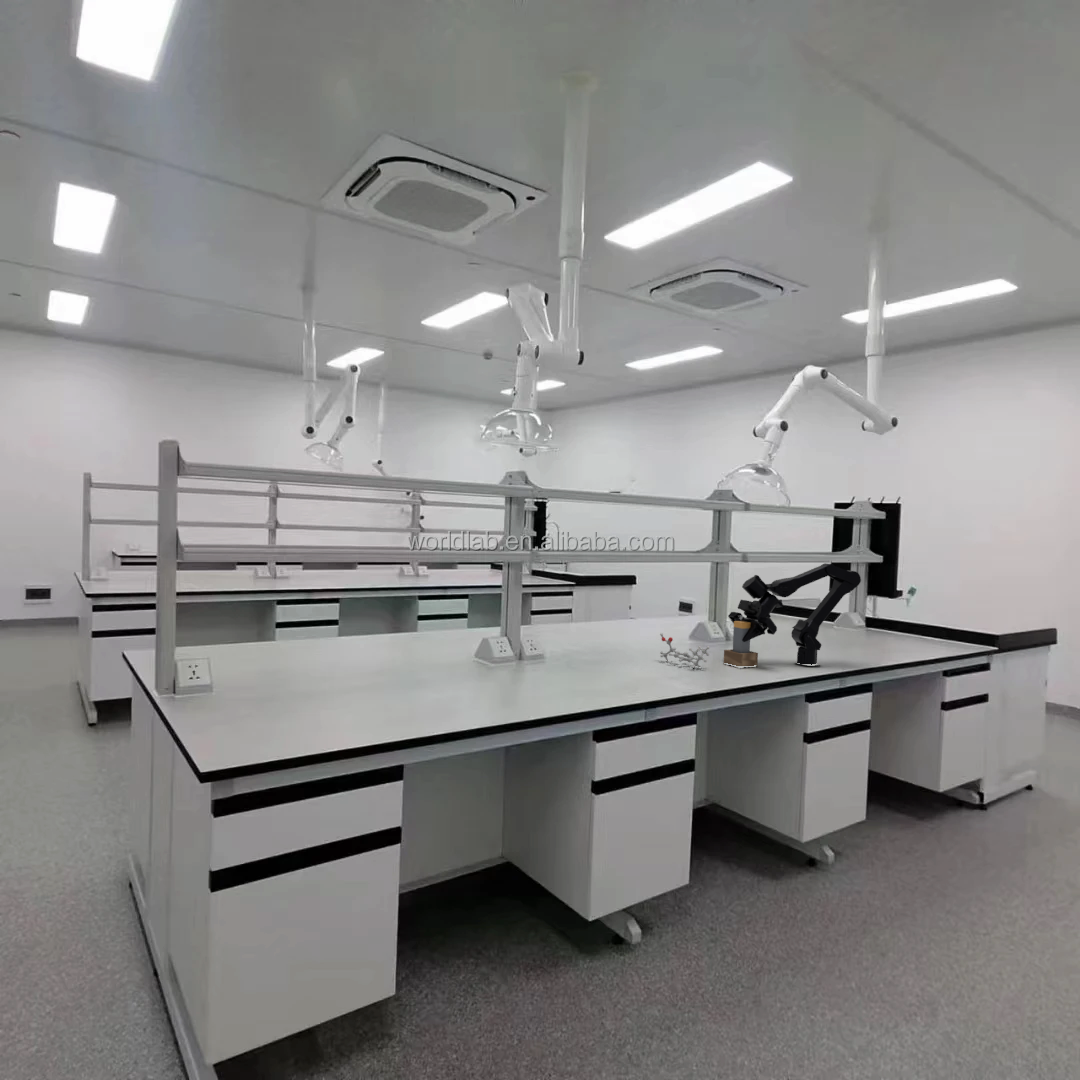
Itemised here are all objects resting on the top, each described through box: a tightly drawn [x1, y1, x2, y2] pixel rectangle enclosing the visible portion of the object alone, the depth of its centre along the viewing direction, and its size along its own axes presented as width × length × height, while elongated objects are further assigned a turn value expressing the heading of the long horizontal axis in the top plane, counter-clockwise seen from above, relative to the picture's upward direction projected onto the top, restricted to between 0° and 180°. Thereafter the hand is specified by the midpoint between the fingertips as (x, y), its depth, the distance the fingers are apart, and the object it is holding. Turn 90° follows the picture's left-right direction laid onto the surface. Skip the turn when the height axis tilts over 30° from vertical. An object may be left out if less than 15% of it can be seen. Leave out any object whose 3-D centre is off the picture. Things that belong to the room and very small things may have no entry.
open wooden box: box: [723, 648, 759, 666], centre depth 238 cm, size 8×8×5 cm
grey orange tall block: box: [732, 621, 751, 653], centre depth 238 cm, size 4×4×13 cm
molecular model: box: [659, 632, 710, 668], centre depth 234 cm, size 19×10×10 cm, turn 31°
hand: (738, 640), depth 238 cm, fingers closed on grey orange tall block, 4 cm apart
